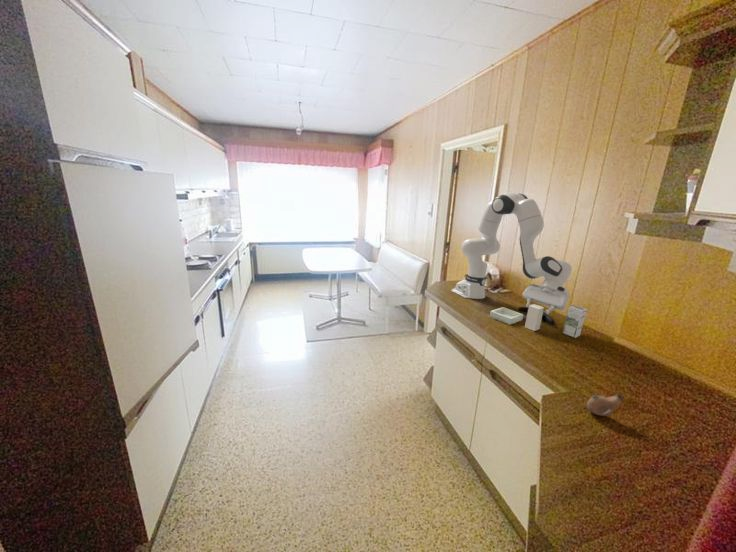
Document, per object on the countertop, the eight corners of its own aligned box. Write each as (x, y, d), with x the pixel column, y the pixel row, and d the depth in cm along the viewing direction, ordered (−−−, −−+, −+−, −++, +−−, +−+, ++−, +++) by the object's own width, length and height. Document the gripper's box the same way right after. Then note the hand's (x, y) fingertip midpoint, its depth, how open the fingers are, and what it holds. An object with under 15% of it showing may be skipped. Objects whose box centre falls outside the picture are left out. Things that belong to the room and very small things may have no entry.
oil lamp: (613, 412, 90) (620, 391, 88) (621, 422, 86) (629, 400, 84) (582, 408, 91) (588, 387, 89) (589, 417, 87) (596, 395, 85)
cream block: (524, 327, 147) (528, 305, 144) (529, 325, 150) (534, 304, 147) (534, 331, 143) (539, 309, 140) (539, 328, 146) (544, 307, 143)
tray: (489, 316, 159) (490, 310, 158) (501, 312, 165) (502, 306, 164) (509, 325, 149) (510, 318, 148) (522, 320, 156) (523, 314, 155)
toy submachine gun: (525, 319, 152) (557, 319, 150) (511, 305, 171) (540, 305, 169) (525, 325, 153) (556, 325, 151) (511, 310, 172) (539, 311, 170)
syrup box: (580, 335, 140) (587, 308, 136) (574, 338, 137) (581, 310, 133) (567, 330, 145) (574, 304, 141) (561, 333, 142) (568, 306, 138)
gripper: (528, 280, 153) (515, 300, 151) (570, 290, 137) (556, 313, 134) (531, 286, 157) (518, 306, 154) (572, 297, 140) (559, 320, 138)
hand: (536, 309), depth 144 cm, fingers open, 8 cm apart
